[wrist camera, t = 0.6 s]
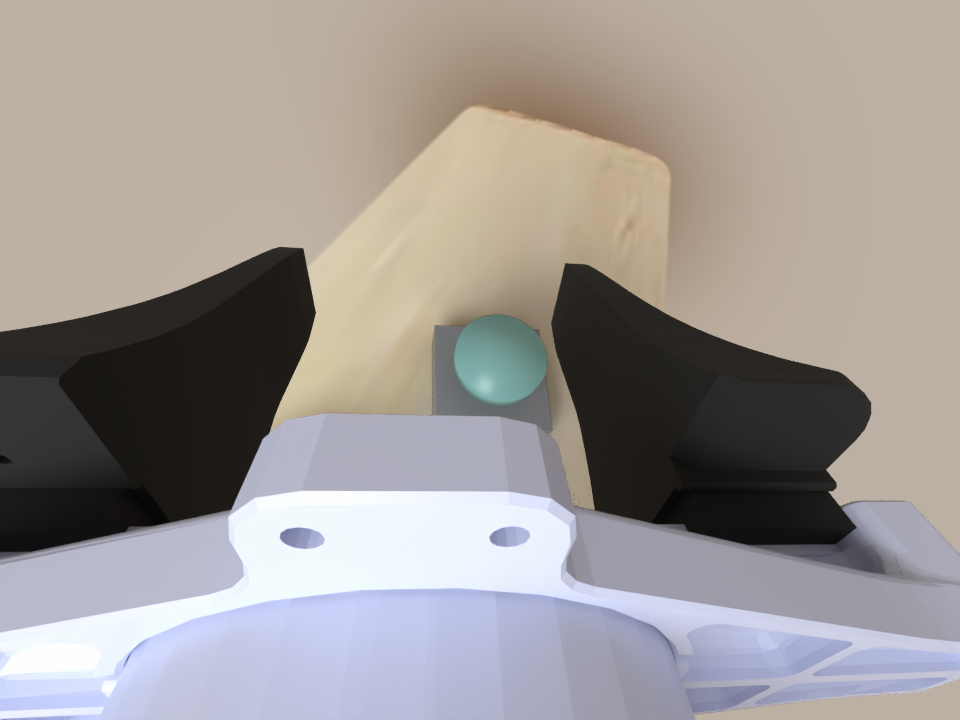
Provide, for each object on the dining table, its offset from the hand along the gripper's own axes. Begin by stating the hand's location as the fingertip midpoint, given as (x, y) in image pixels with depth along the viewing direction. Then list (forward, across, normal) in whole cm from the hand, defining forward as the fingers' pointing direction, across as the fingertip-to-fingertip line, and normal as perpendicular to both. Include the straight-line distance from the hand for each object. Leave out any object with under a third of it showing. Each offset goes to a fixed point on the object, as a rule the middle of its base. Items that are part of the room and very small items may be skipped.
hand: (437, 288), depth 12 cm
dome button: (+12, -4, +14) cm, 19 cm away
